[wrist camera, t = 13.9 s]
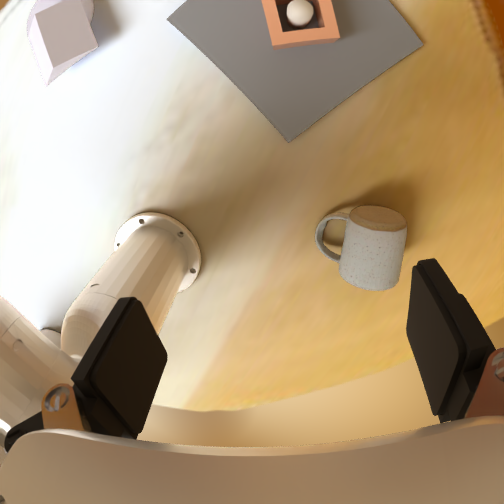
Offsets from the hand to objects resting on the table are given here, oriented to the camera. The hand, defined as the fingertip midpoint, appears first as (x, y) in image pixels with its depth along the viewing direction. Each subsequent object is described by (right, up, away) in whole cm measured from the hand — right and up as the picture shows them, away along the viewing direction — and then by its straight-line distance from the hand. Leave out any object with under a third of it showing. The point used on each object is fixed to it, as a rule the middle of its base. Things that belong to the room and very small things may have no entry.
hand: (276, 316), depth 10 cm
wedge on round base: (-24, +31, +18) cm, 43 cm away
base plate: (+4, +27, +17) cm, 32 cm away
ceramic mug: (+12, +5, +29) cm, 32 cm away
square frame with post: (+3, +28, +15) cm, 32 cm away
